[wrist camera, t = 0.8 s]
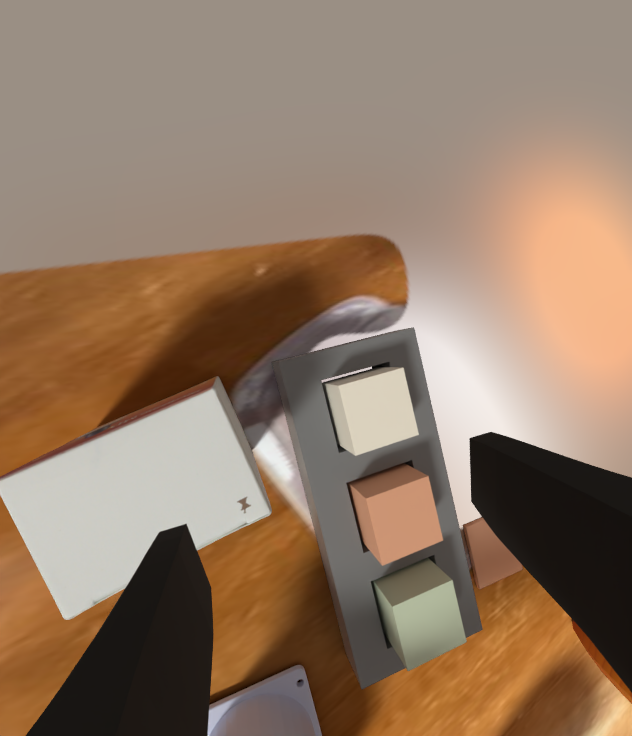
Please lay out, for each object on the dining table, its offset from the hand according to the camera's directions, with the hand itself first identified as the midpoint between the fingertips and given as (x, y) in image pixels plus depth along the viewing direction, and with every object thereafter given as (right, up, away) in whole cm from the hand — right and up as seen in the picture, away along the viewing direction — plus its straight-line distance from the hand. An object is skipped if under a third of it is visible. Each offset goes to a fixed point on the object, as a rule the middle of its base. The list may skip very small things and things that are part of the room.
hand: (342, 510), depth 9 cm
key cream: (+2, +1, +15) cm, 16 cm away
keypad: (+3, -5, +18) cm, 19 cm away
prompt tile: (+13, -10, +20) cm, 26 cm away
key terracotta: (+4, -5, +16) cm, 17 cm away
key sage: (+5, -11, +16) cm, 21 cm away
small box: (-9, -1, +15) cm, 17 cm away
